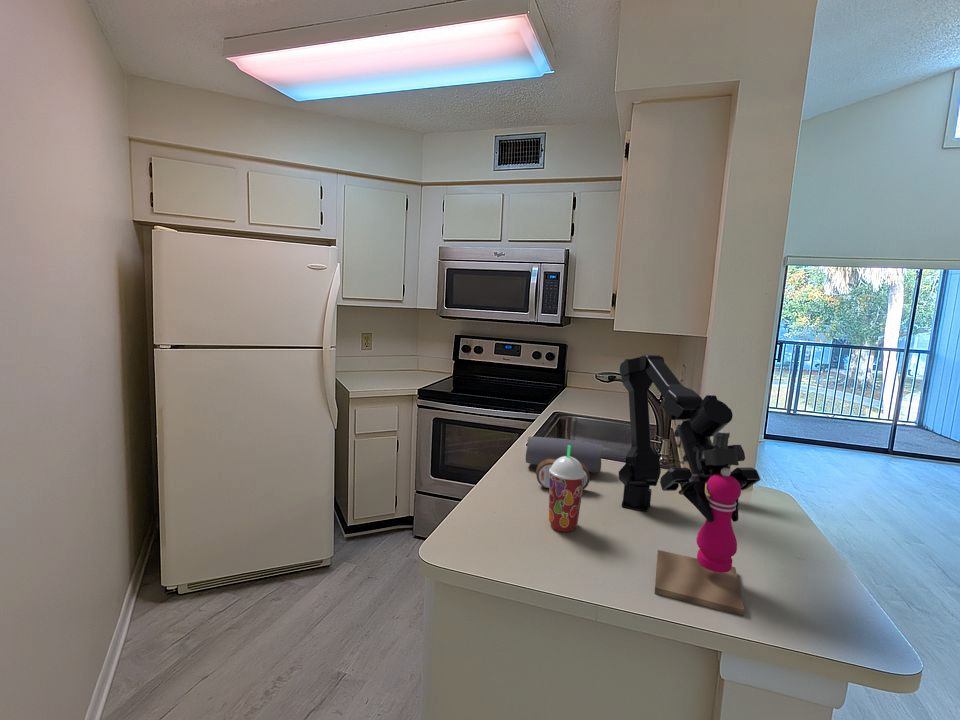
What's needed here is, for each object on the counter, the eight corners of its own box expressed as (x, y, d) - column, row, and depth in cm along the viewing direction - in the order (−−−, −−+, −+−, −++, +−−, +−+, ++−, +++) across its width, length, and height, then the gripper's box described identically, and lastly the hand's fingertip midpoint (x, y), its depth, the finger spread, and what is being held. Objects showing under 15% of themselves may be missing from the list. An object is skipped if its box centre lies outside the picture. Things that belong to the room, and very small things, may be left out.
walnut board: (654, 593, 93) (655, 587, 93) (657, 555, 107) (658, 549, 107) (743, 616, 88) (744, 609, 88) (734, 572, 102) (735, 567, 102)
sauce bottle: (729, 506, 134) (738, 436, 131) (704, 503, 135) (713, 433, 132) (722, 497, 141) (731, 429, 138) (699, 494, 142) (707, 427, 139)
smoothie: (584, 523, 120) (591, 444, 117) (575, 538, 113) (582, 454, 110) (550, 515, 124) (556, 437, 121) (540, 529, 116) (546, 447, 113)
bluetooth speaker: (599, 470, 157) (602, 439, 156) (599, 480, 148) (602, 448, 147) (528, 460, 162) (530, 431, 161) (524, 470, 153) (526, 439, 152)
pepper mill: (693, 550, 103) (704, 458, 99) (732, 558, 100) (744, 464, 97) (694, 568, 96) (706, 470, 93) (736, 578, 93) (750, 477, 90)
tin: (588, 489, 141) (590, 461, 140) (589, 494, 138) (591, 465, 137) (535, 484, 143) (537, 456, 141) (535, 489, 139) (537, 460, 138)
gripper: (673, 428, 96) (699, 507, 87) (761, 429, 99) (794, 506, 90) (650, 453, 105) (671, 527, 96) (730, 453, 108) (758, 525, 99)
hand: (723, 521), depth 95 cm, fingers closed on pepper mill, 5 cm apart
